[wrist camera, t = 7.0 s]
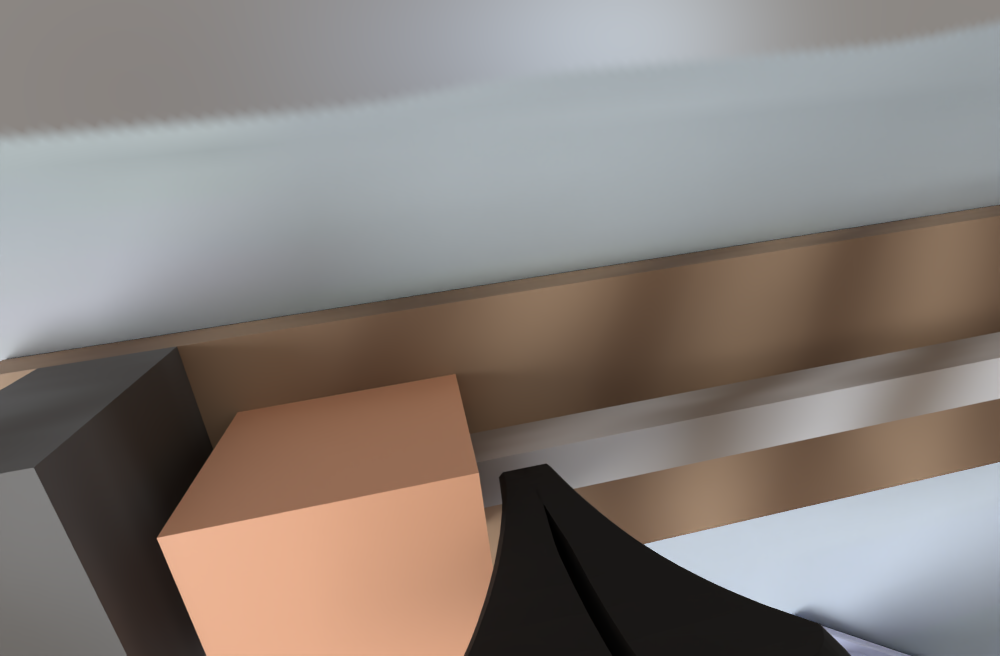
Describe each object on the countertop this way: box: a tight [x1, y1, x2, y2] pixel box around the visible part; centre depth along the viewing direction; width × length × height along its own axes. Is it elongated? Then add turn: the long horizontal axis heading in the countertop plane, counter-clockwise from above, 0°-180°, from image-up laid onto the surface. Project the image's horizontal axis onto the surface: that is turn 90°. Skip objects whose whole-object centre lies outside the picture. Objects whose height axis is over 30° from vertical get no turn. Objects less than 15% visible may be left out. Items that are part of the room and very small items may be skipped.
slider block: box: [157, 374, 493, 656], centre depth 12 cm, size 6×5×4 cm
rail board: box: [0, 205, 1000, 656], centre depth 13 cm, size 32×9×6 cm, turn 97°
